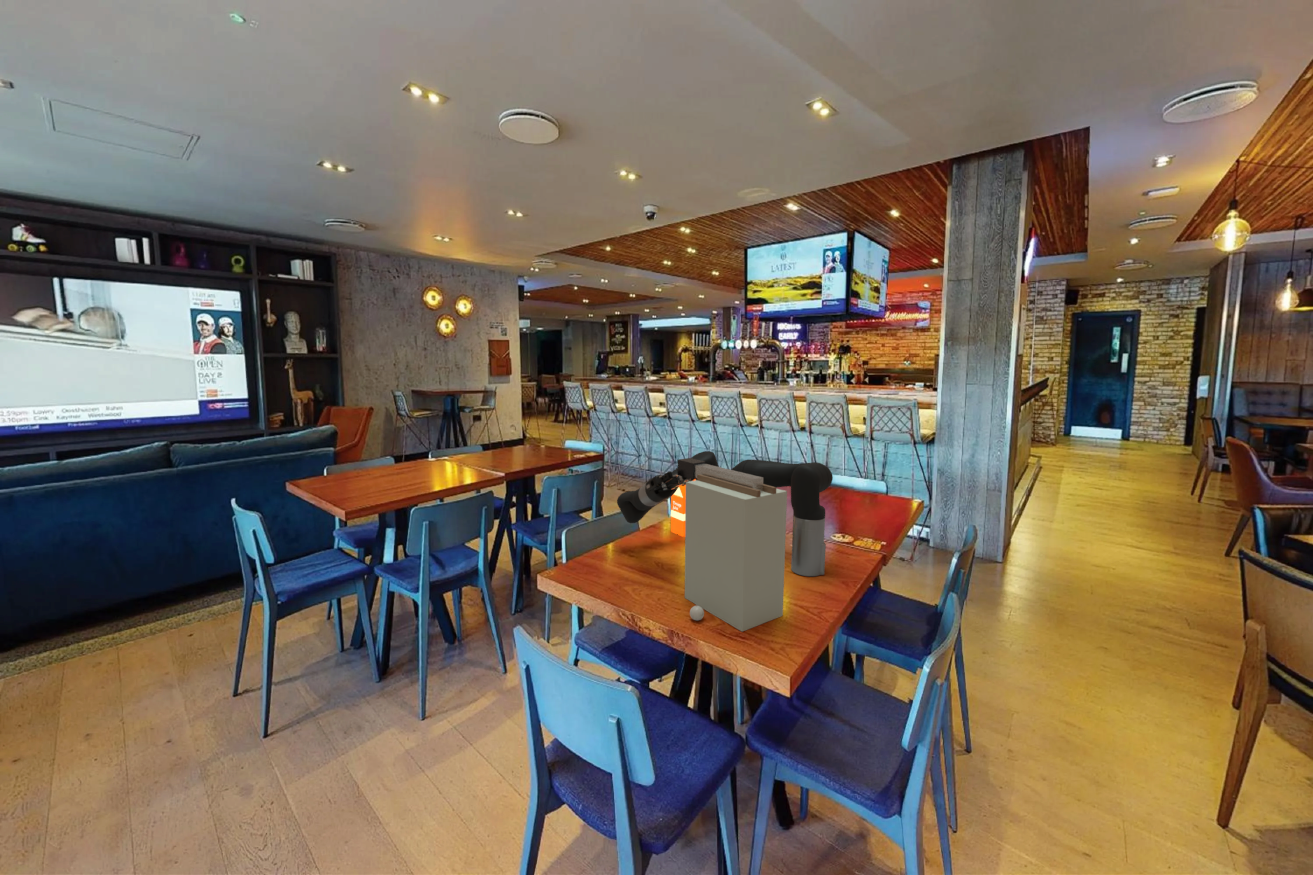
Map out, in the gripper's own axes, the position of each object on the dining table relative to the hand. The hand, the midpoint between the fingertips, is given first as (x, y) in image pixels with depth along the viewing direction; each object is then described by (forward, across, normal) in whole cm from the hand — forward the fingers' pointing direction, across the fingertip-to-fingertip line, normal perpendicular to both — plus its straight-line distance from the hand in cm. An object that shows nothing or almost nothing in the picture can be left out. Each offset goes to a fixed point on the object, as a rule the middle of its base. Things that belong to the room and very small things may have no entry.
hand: (683, 472), depth 149 cm
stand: (+2, 0, +38) cm, 38 cm away
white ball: (+2, -12, +38) cm, 40 cm away
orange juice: (-45, +28, +11) cm, 54 cm away
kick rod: (+12, 0, +8) cm, 15 cm away
